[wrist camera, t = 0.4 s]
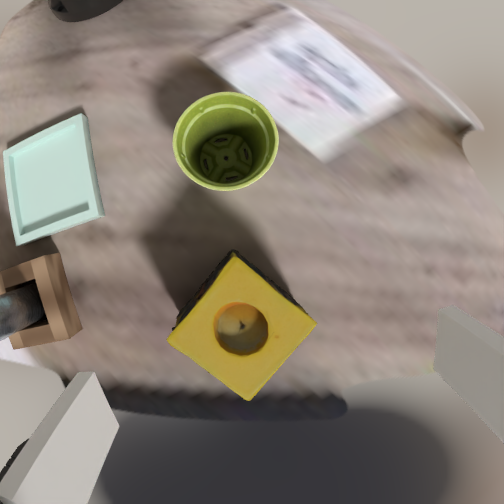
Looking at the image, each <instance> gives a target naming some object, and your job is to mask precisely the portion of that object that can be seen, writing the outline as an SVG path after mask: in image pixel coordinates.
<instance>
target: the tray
mask: <svg viewBox="0 0 504 504" xmlns="http://www.w3.org/2000/svg"><path fill="white" fill-rule="evenodd" d="M3 158H4V170H5V179H6V188H7V196H8V203H9V209H10V216H11V221H12V227H13V232H14V237H15V242H16V246H20V245H26V244H28V243H31V242H34V241H36V240H39V239H41V238H44V237H47V236H49V235H52V234H55V233H58V232H60V231H63V230H66V229H69V228H71V227H74V226H77V225H80V224H83V223H86V222H89V221H91V220H94V219H97V218H100V217H103V216H105V214H104V209H103V205H102V200H101V195H100V190H99V185H98V180H97V175H96V169H95V164H94V158H93V152H92V146H91V139H90V132H89V125H88V118H87V117H86V116H85V115H83V114H82V113H80V114H78V115H76V116H73V117H71V118H69V119H67V120H64V121H62V122H60V123H58V124H56V125H53V126H51V127H49V128H47V129H45V130H43V131H41V132H39V133H37V134H35V135H33V136H31V137H29V138H27V139H25V140H23V141H21V142H20V143H18V144H16V145H14V146H12V147H10V148H9V149H7V150H5V151H3Z"/></svg>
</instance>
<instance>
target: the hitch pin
mask: <svg viewBox="0 0 504 504" xmlns="http://www.w3.org/2000/svg"><path fill="white" fill-rule="evenodd" d="M44 317H46V313H45V310H44V307H43V304H42V300H41V297H40V294H39V290H38V287H37V283H35V284H32V285H28V286H25V287H22V288H19V289H16V290H13V291H10V292H7V293H4V294H1V295H0V341H1V340H3V339H5V338H7V337H9V336H10V335H12V334H14V333H16V332H18V331H20V330H21V329H23V328H25V327H27V326H29V325H31V324H33V323H34V322H36V321H38V320H40V319H42V318H44Z"/></svg>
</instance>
